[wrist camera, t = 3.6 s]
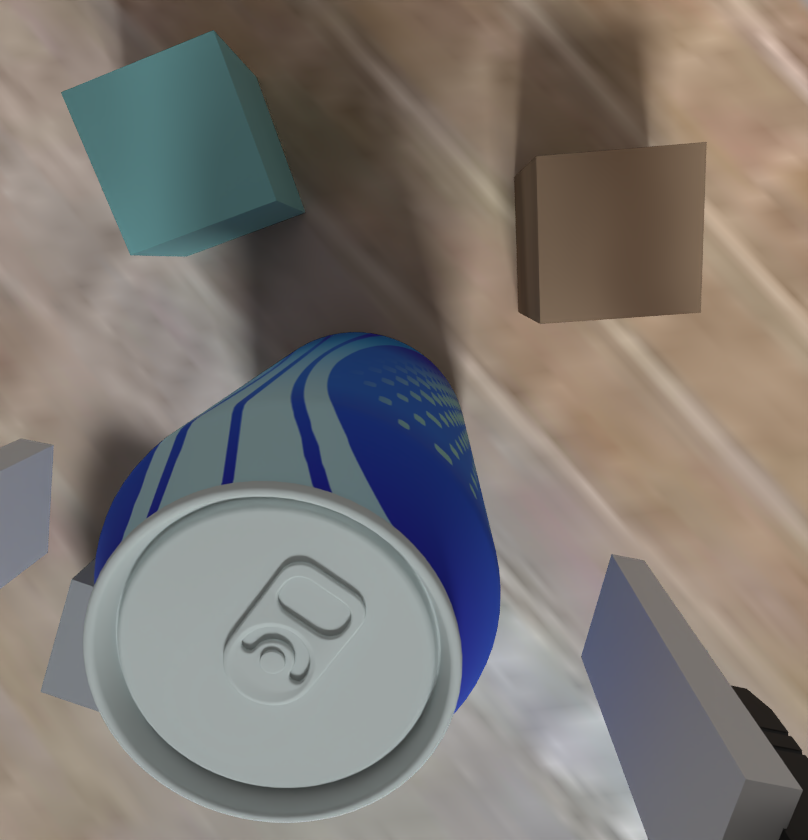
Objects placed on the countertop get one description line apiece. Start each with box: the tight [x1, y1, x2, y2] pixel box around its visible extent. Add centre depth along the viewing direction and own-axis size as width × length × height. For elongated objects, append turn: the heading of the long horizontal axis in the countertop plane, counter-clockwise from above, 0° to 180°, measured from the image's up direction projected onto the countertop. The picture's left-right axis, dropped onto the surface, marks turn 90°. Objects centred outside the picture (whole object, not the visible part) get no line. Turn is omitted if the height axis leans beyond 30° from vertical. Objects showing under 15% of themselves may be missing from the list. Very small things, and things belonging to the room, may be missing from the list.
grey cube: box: [41, 558, 99, 712], centre depth 26 cm, size 5×5×5 cm
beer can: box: [83, 332, 500, 823], centre depth 19 cm, size 8×8×16 cm
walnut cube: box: [514, 142, 707, 324], centre depth 22 cm, size 5×5×5 cm
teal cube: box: [61, 30, 305, 257], centre depth 22 cm, size 5×5×5 cm
